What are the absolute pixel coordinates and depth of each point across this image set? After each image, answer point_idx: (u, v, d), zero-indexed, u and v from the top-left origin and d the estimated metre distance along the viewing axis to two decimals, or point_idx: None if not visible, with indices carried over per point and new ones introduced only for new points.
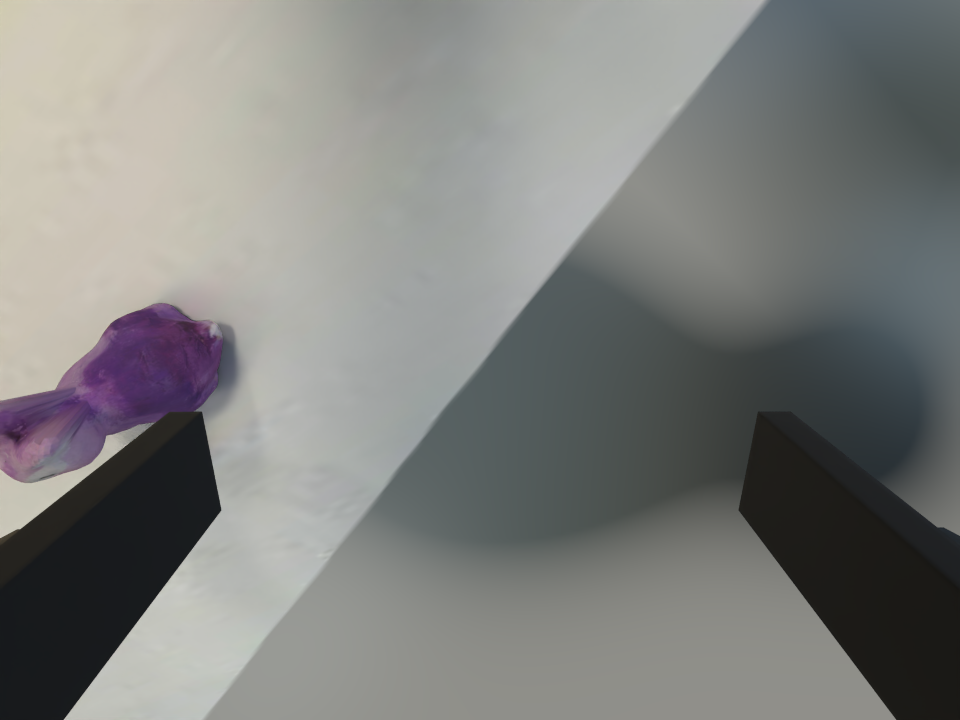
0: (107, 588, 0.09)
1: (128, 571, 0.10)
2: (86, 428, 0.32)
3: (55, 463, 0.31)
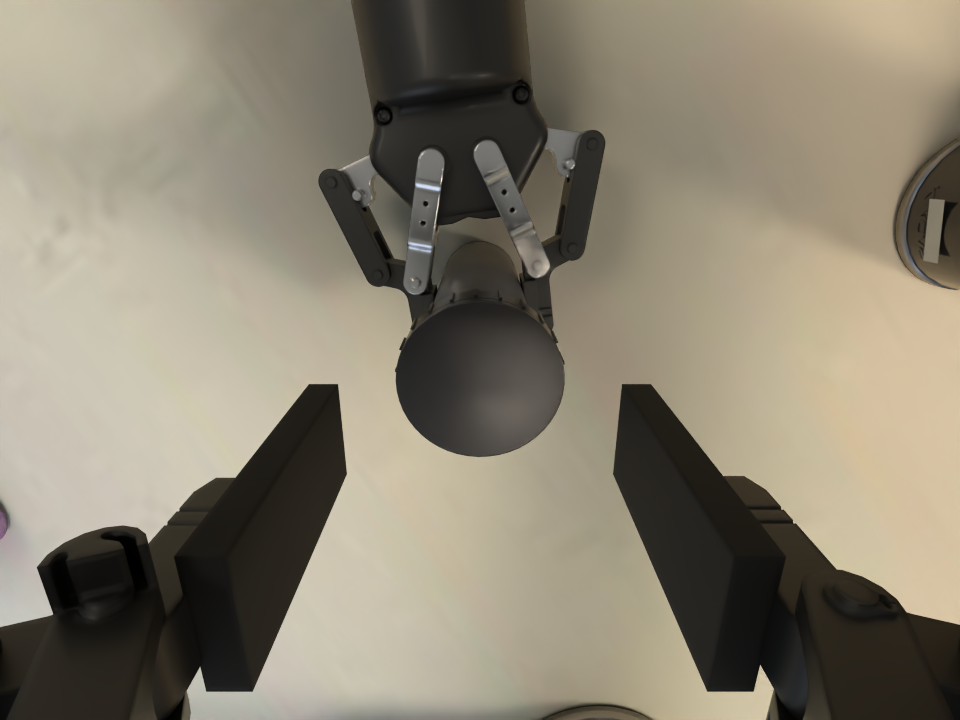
0: (296, 527, 0.11)
1: (305, 515, 0.11)
2: None
3: None
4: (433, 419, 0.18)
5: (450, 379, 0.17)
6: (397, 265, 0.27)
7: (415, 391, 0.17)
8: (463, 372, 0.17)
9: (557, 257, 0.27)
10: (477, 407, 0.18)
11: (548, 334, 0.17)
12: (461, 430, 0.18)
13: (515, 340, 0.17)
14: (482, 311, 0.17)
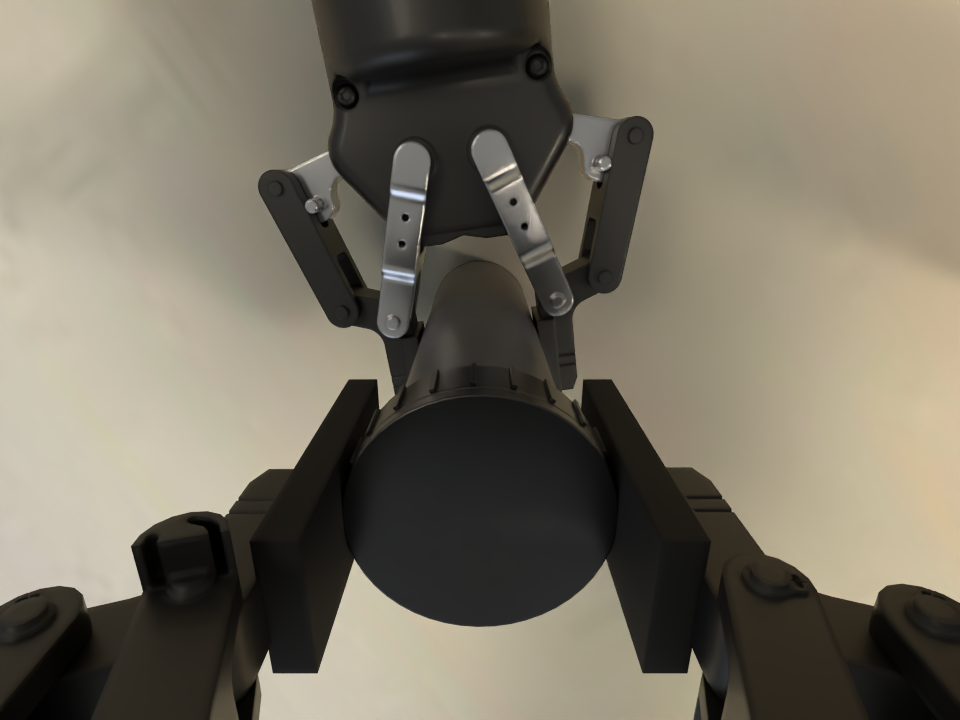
0: None
1: None
2: None
3: None
4: (404, 574, 0.11)
5: (431, 515, 0.11)
6: (369, 299, 0.20)
7: (374, 533, 0.11)
8: (452, 505, 0.10)
9: (583, 288, 0.20)
10: (475, 557, 0.11)
11: (594, 447, 0.10)
12: (450, 590, 0.11)
13: (539, 457, 0.10)
14: (484, 411, 0.10)
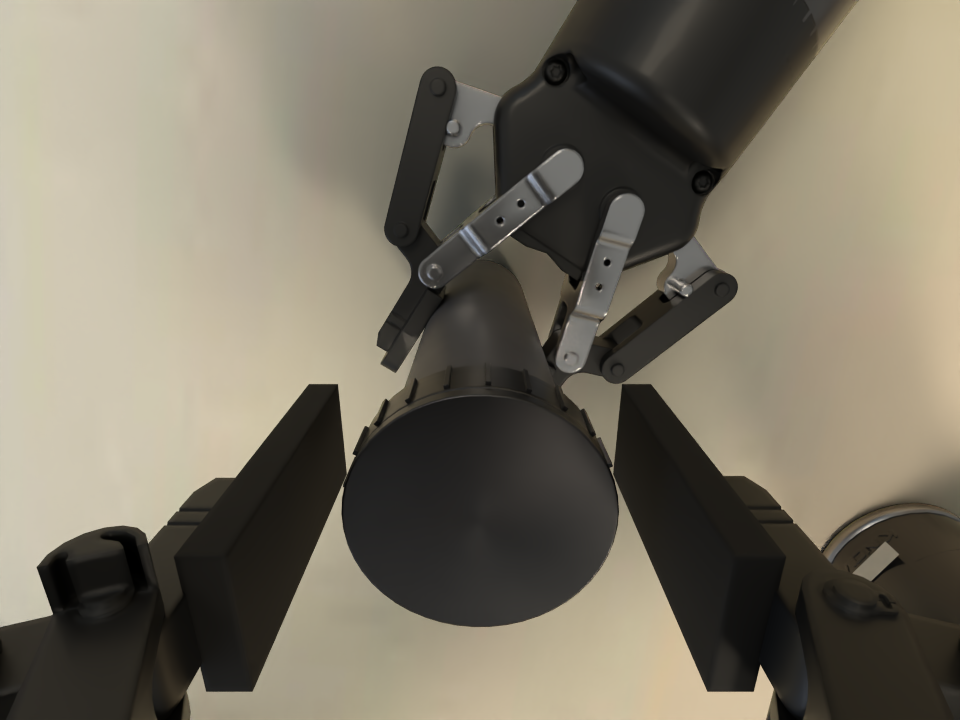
0: (296, 527, 0.11)
1: (305, 515, 0.11)
2: None
3: None
4: (468, 602, 0.11)
5: (440, 545, 0.11)
6: (429, 237, 0.19)
7: (415, 588, 0.11)
8: (447, 525, 0.11)
9: (593, 364, 0.21)
10: (506, 550, 0.11)
11: (504, 397, 0.10)
12: (514, 588, 0.11)
13: (470, 439, 0.10)
14: (394, 441, 0.10)
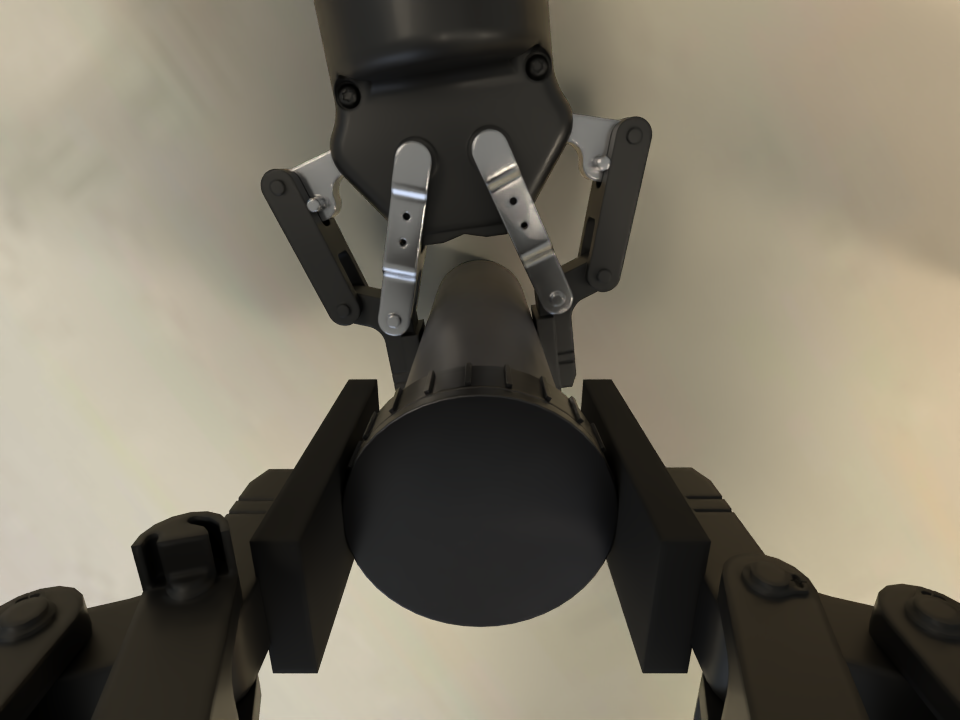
0: None
1: None
2: None
3: None
4: (534, 589, 0.11)
5: (468, 560, 0.11)
6: (370, 297, 0.20)
7: (483, 605, 0.11)
8: (458, 542, 0.11)
9: (583, 287, 0.20)
10: (522, 529, 0.11)
11: (402, 415, 0.10)
12: (561, 554, 0.11)
13: (410, 466, 0.10)
14: (358, 507, 0.10)
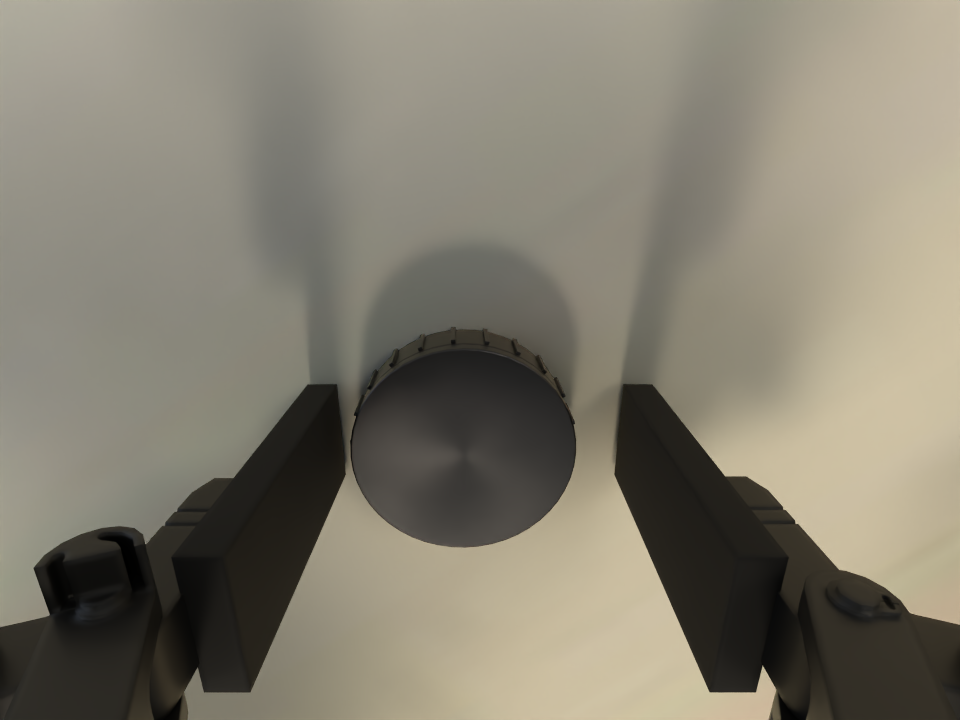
0: (295, 528, 0.11)
1: (304, 516, 0.11)
2: None
3: None
4: (509, 512, 0.14)
5: (455, 489, 0.13)
6: None
7: (467, 528, 0.14)
8: (446, 473, 0.13)
9: None
10: (499, 461, 0.13)
11: (401, 367, 0.12)
12: (530, 482, 0.13)
13: (406, 409, 0.13)
14: (364, 445, 0.13)
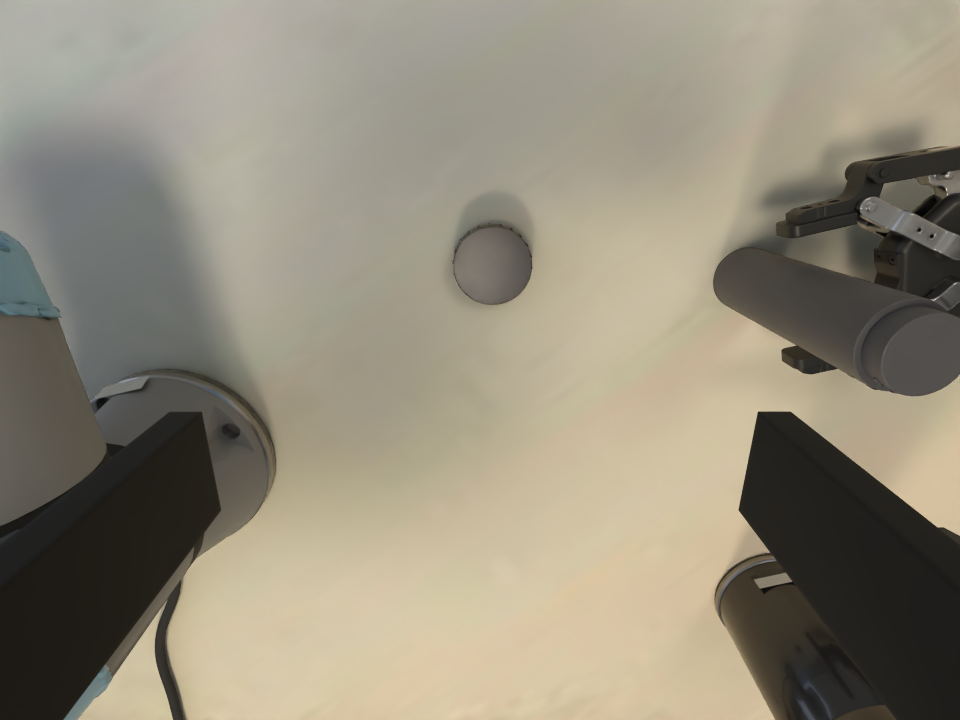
0: (107, 589, 0.09)
1: (128, 571, 0.10)
2: None
3: None
4: (508, 290, 0.38)
5: (489, 279, 0.38)
6: (881, 188, 0.31)
7: (493, 296, 0.38)
8: (486, 273, 0.38)
9: None
10: (504, 269, 0.38)
11: (472, 232, 0.37)
12: (515, 278, 0.38)
13: (473, 248, 0.37)
14: (458, 261, 0.37)
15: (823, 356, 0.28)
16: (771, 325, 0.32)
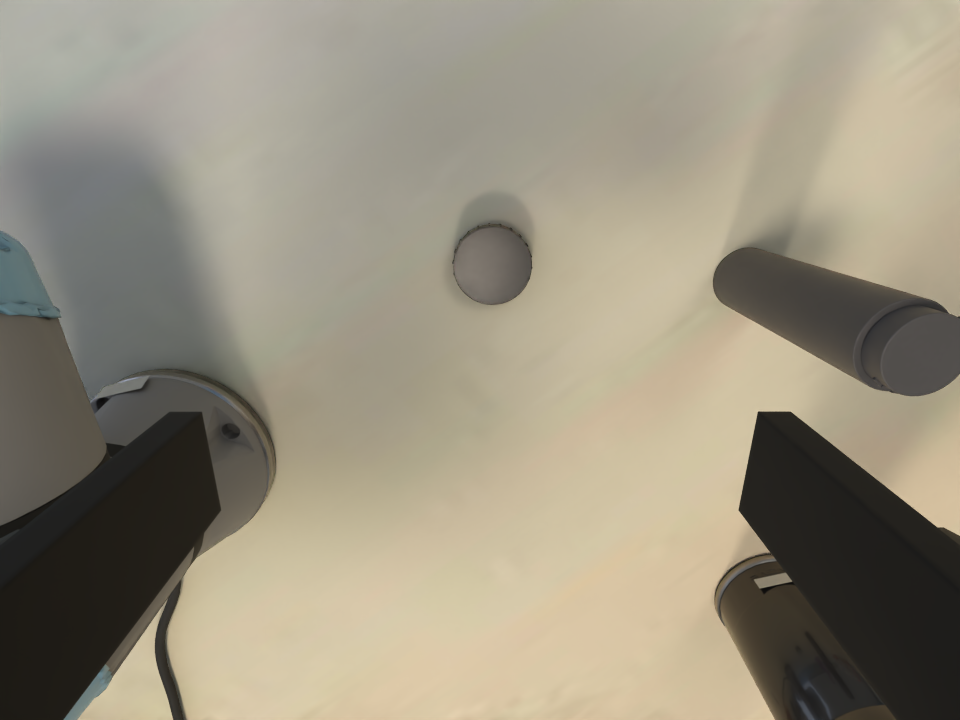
0: (108, 589, 0.09)
1: (128, 571, 0.10)
2: None
3: None
4: (508, 290, 0.38)
5: (489, 279, 0.38)
6: None
7: (493, 296, 0.38)
8: (486, 273, 0.38)
9: None
10: (504, 269, 0.38)
11: (472, 232, 0.37)
12: (515, 278, 0.38)
13: (473, 248, 0.37)
14: (458, 261, 0.37)
15: (823, 356, 0.28)
16: (771, 325, 0.32)
